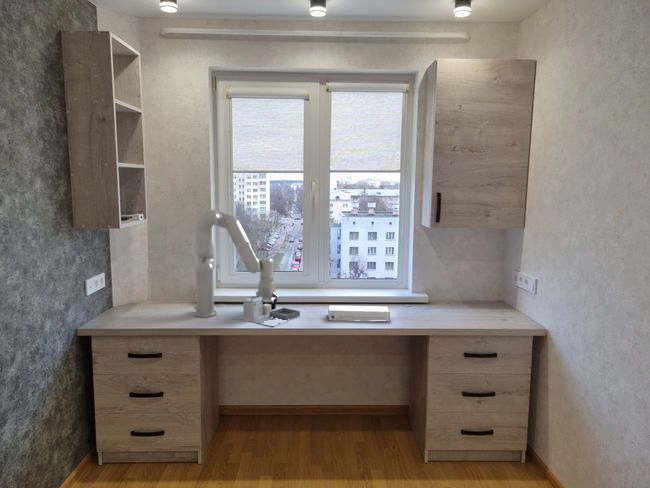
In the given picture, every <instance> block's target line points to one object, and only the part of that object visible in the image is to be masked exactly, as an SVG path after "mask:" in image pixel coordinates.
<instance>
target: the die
mask: <svg viewBox="0 0 650 488" xmlns="http://www.w3.org/2000/svg"><path fill="white" fill-rule="evenodd" d="M271 311H273V310H271V304H269V303H263V305H262V314H264V313H266V314H265V315H268V314H269V312H271ZM267 313H268V314H267Z"/></svg>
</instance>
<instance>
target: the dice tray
mask: <svg viewBox="0 0 650 488" xmlns="http://www.w3.org/2000/svg"><path fill="white" fill-rule="evenodd" d="M300 313H301V311H300V310H296V309H291V308H288V307H281V308H278V309H277V308H276V309H274V310H272V311H271V312H269V313H268V314H269V316H268V317H273V318H278V319H282V320H287V321H289V320H288V319H290V320H292V319H291V318H293V319H295V318H294V317H296V318H298V317H297V316H299V317H300V315H301V314H300Z"/></svg>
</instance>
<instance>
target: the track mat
mask: <svg viewBox="0 0 650 488" xmlns="http://www.w3.org/2000/svg"><path fill="white" fill-rule="evenodd" d="M239 319H240V320H242V319H243V320H242V321H246V320H247V321H246V322H250V321H251V322H250V323H254V322H256V323H255V324H258V323H260V324H259V325H261V323H264V321H268V320H274V319H275V318H271V317H269V316H267V315H263V314H262V316H260V317H258V318H256V319H255V320H248V319H244V316H242V317H240V318H239ZM275 320H276V319H275Z"/></svg>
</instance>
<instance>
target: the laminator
mask: <svg viewBox="0 0 650 488" xmlns="http://www.w3.org/2000/svg"><path fill="white" fill-rule="evenodd" d="M327 312H328V315H327V317H328V321H329V320H386V321H388V320H389V321H390V319H391V318H390V316H391V315H390V314H391V311H390V308H389V307H388V306H381V305H380V306H379V305H378V306H377V305H375V306H373V305H335V304H334V305H328V311H327Z"/></svg>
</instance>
